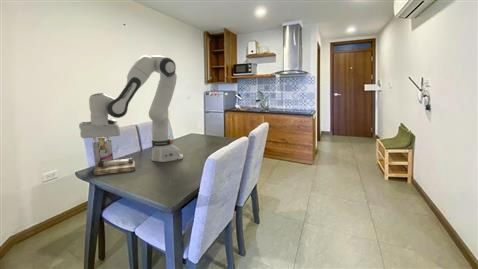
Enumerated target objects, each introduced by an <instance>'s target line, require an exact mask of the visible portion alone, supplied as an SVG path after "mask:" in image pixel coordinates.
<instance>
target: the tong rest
mask: <svg viewBox="0 0 478 269" xmlns="http://www.w3.org/2000/svg"><path fill="white" fill-rule="evenodd" d="M135 170H136V163H135V160H133V163H128V164H119V165H110V166H102V167H98V164H97V165H96V167H95V168H94V169H93V175H94V176H98V175H107V174H108V175H109V174H115V173H116V174H117V173H123V172H132V171H133V172H134V171H135Z"/></svg>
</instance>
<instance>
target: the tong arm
mask: <svg viewBox="0 0 478 269" xmlns="http://www.w3.org/2000/svg"><path fill="white" fill-rule="evenodd" d="M120 160H121V159H120ZM128 163H129V161H128V160H121V161H111V162H100V163H98V167H102V166H110V165H119V164H128Z"/></svg>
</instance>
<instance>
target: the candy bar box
mask: <svg viewBox="0 0 478 269" xmlns="http://www.w3.org/2000/svg"><path fill="white" fill-rule="evenodd" d="M105 141H107V138H105ZM105 148H106V149H105V150H99V145H96V142H95V141H94V142H92V151H93V159H94V164H95V165H94V166H95V167H96V165H97V164H98V162H101V161H111V160H114V156H113V147H112V139H110V138H109V140H108V144H105Z"/></svg>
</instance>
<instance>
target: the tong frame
mask: <svg viewBox="0 0 478 269" xmlns="http://www.w3.org/2000/svg"><path fill="white" fill-rule="evenodd" d="M121 160H128V161H129V163H133V161H134V158H133V157H129V158H124V159H113V160H111V161H121ZM111 161H101V162H111ZM98 163H100V162H98Z"/></svg>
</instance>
